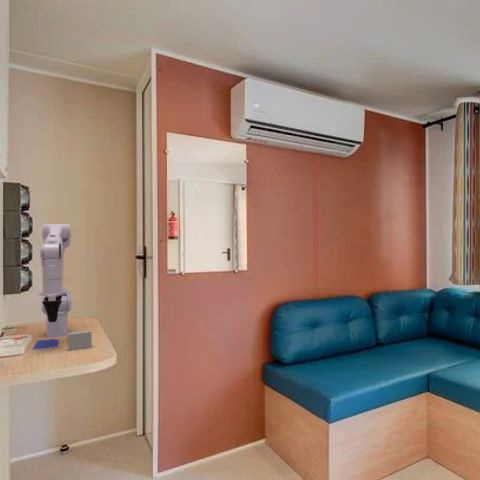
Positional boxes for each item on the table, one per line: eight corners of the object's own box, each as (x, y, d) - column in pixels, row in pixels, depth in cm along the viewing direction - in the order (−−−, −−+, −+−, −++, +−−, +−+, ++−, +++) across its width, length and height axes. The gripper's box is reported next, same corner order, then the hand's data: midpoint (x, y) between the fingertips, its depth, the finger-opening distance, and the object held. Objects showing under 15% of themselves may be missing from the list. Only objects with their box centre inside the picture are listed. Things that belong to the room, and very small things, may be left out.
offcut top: (67, 340, 129) (67, 336, 129) (78, 338, 131) (78, 334, 131) (71, 343, 126) (71, 338, 126) (83, 340, 129) (83, 336, 129)
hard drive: (59, 346, 121) (61, 337, 133) (30, 350, 118) (35, 340, 129) (59, 351, 121) (61, 342, 133) (31, 354, 118) (35, 345, 129)
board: (68, 351, 119) (67, 333, 119) (91, 348, 122) (90, 330, 122) (68, 353, 116) (67, 334, 116) (91, 350, 119) (91, 332, 119)
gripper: (39, 278, 127) (40, 317, 127) (37, 282, 114) (38, 325, 114) (62, 276, 130) (63, 314, 130) (62, 280, 117) (63, 322, 117)
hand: (53, 319), depth 122 cm, fingers open, 7 cm apart
